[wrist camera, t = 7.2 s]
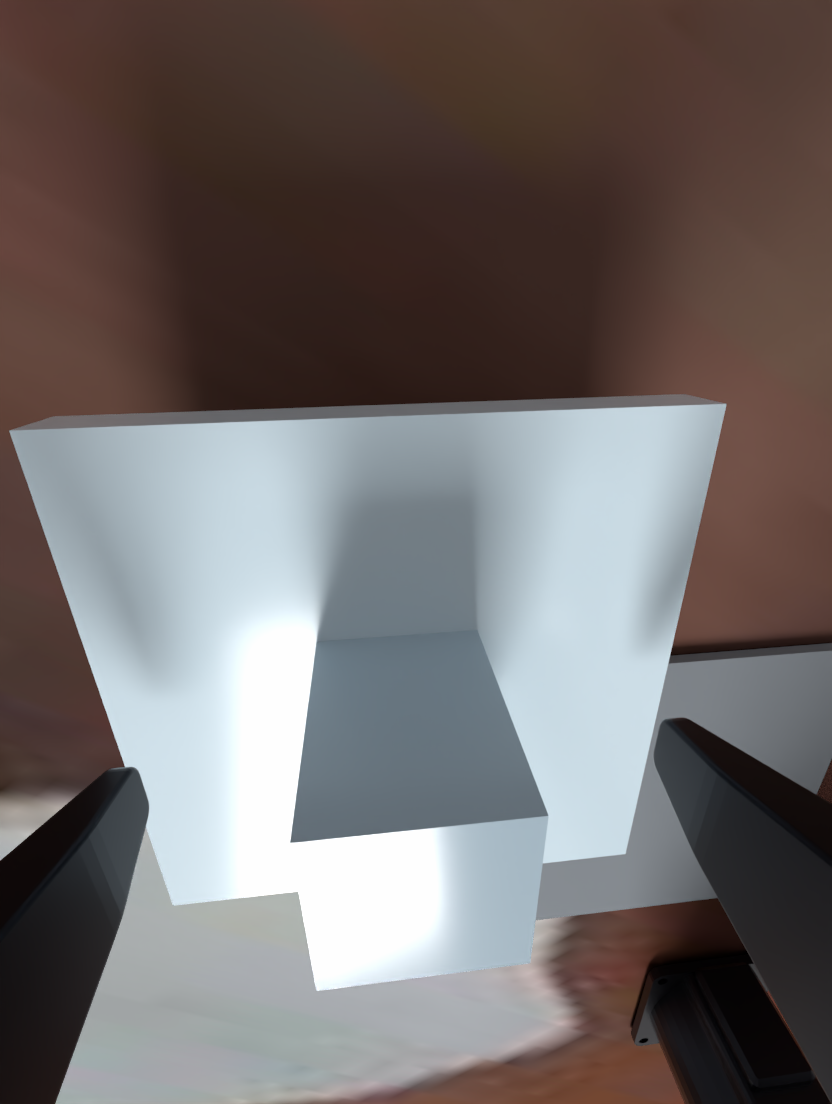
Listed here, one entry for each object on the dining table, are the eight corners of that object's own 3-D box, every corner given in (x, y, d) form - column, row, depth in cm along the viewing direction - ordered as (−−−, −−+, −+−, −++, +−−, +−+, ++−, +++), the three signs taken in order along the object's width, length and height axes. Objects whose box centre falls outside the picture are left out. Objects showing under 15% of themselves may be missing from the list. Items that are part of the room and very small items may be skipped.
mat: (768, 881, 23) (775, 890, 23) (485, 915, 22) (487, 926, 22) (869, 640, 18) (879, 646, 17) (500, 669, 17) (503, 677, 16)
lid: (604, 812, 14) (729, 1062, 9) (188, 856, 13) (91, 1161, 8) (684, 394, 9) (1009, 468, 5) (53, 416, 8) (-325, 535, 4)
